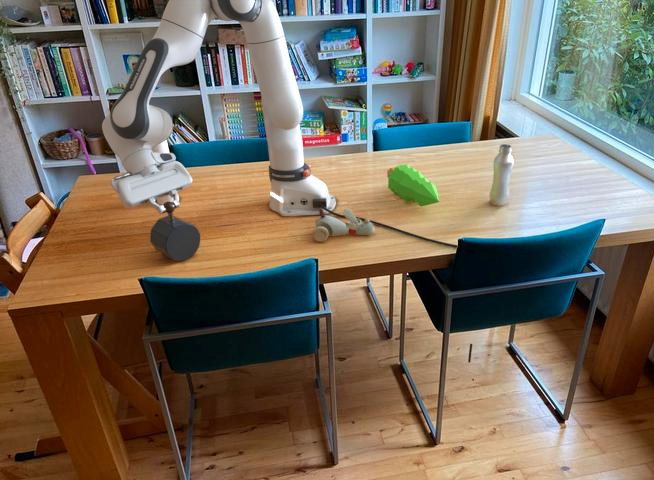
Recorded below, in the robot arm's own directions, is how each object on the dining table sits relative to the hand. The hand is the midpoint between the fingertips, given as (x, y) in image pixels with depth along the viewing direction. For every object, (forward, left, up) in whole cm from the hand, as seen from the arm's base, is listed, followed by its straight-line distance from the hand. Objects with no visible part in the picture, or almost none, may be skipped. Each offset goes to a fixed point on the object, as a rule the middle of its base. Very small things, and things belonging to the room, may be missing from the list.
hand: (170, 209), depth 150 cm
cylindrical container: (+19, -36, -15) cm, 43 cm away
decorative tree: (-65, -41, -15) cm, 79 cm away
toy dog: (-44, -16, -15) cm, 50 cm away
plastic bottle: (-94, -42, -15) cm, 105 cm away
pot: (+1, 0, -14) cm, 14 cm away
